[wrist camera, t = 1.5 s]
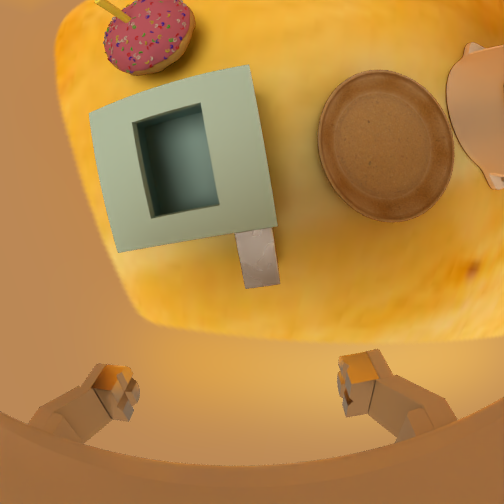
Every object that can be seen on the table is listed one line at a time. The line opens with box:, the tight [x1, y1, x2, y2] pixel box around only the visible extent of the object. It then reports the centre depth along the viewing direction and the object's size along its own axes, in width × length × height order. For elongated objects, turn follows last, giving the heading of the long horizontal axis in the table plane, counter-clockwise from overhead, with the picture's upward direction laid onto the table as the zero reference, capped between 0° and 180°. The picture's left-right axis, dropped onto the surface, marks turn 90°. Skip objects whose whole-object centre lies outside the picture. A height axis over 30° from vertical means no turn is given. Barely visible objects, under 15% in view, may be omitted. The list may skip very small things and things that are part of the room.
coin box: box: [89, 65, 278, 253], centre depth 22 cm, size 12×11×9 cm
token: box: [235, 227, 280, 289], centre depth 26 cm, size 3×5×5 cm, turn 10°
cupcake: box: [95, 0, 195, 76], centre depth 16 cm, size 9×8×12 cm
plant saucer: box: [318, 70, 454, 222], centre depth 24 cm, size 15×15×3 cm
